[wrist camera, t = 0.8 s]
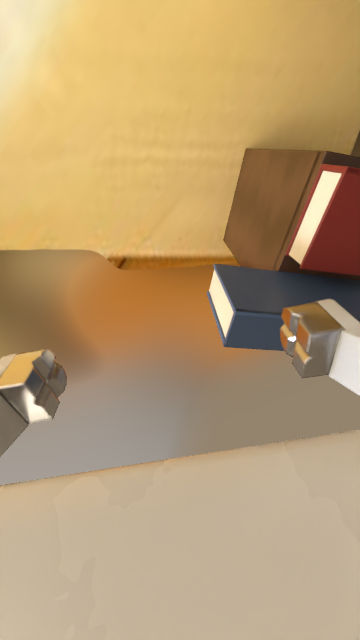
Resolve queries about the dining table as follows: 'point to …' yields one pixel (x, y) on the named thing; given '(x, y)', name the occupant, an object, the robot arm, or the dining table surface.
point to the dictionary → (330, 223)
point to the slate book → (269, 302)
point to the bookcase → (275, 206)
